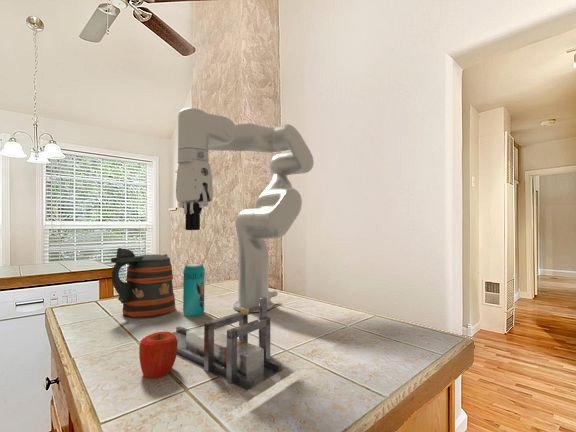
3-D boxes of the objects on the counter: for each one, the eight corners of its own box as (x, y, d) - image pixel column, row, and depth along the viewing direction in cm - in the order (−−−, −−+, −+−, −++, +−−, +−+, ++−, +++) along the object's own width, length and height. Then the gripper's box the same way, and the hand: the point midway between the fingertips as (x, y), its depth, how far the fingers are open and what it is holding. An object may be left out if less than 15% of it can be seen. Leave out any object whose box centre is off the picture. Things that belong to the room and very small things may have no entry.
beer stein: (134, 326, 79) (135, 249, 80) (96, 319, 85) (97, 247, 85) (185, 307, 97) (185, 244, 97) (150, 303, 102) (151, 243, 103)
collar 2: (265, 366, 57) (265, 316, 57) (270, 368, 56) (270, 317, 56) (226, 387, 50) (226, 330, 50) (231, 389, 49) (231, 332, 49)
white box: (185, 351, 61) (186, 331, 61) (203, 345, 64) (203, 326, 64) (246, 381, 49) (246, 356, 50) (263, 372, 53) (263, 348, 53)
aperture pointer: (262, 356, 61) (262, 296, 61) (268, 359, 60) (268, 297, 60) (239, 368, 56) (239, 302, 56) (245, 370, 55) (245, 304, 55)
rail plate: (181, 333, 74) (181, 325, 74) (283, 374, 54) (283, 362, 54) (145, 345, 67) (145, 336, 67) (247, 396, 47) (247, 383, 47)
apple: (174, 385, 50) (174, 339, 51) (134, 389, 49) (134, 342, 49) (179, 367, 56) (180, 326, 57) (143, 370, 55) (144, 329, 55)
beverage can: (198, 321, 83) (198, 266, 84) (179, 319, 85) (179, 265, 85) (207, 314, 89) (208, 263, 89) (189, 313, 90) (190, 262, 91)
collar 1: (243, 357, 61) (243, 311, 61) (247, 359, 60) (247, 312, 60) (203, 375, 53) (204, 323, 54) (208, 378, 53) (208, 324, 53)
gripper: (223, 157, 77) (223, 230, 76) (189, 164, 86) (188, 229, 85) (198, 151, 71) (197, 230, 70) (164, 160, 80) (163, 229, 80)
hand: (192, 229), depth 78 cm, fingers closed
